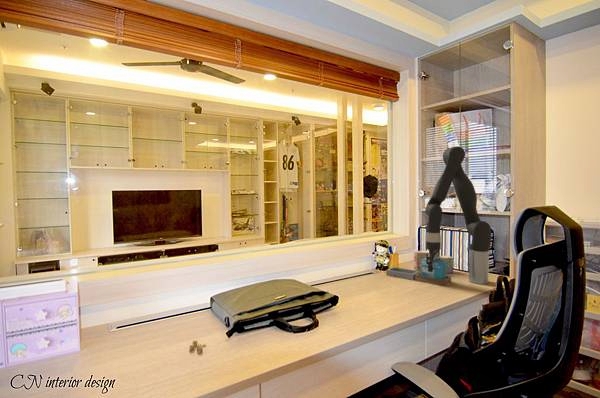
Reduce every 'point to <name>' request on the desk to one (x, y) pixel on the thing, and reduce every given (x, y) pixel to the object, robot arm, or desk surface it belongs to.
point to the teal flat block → (434, 269)
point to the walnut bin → (433, 280)
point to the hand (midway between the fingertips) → (433, 270)
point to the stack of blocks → (422, 254)
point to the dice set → (199, 348)
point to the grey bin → (402, 273)
